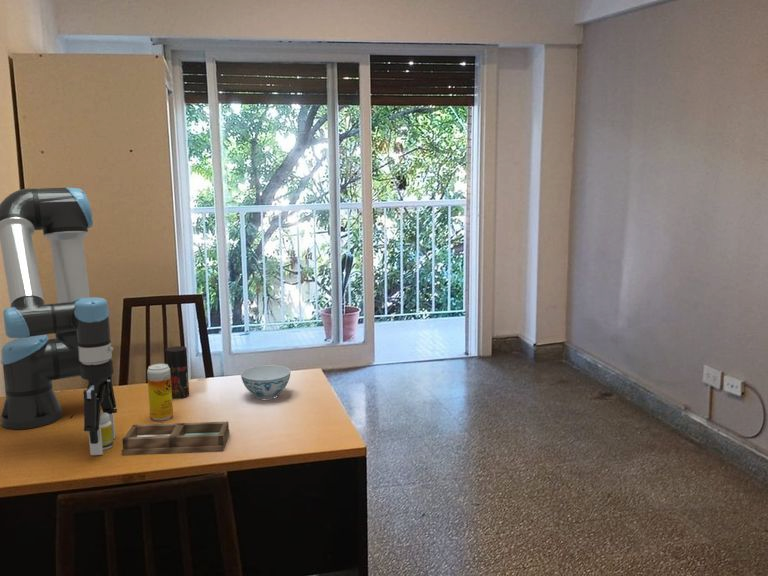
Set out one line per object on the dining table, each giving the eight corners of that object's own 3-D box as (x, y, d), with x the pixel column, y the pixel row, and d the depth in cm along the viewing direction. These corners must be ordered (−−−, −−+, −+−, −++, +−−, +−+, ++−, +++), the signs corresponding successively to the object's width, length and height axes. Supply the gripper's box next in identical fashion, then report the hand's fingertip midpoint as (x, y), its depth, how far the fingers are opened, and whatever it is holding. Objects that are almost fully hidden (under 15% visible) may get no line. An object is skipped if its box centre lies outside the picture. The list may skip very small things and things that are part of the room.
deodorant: (169, 393, 208) (166, 347, 206) (189, 391, 210) (186, 345, 207) (169, 399, 203) (166, 352, 200) (189, 397, 205) (186, 350, 202)
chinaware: (258, 408, 195) (257, 383, 194) (232, 395, 206) (231, 371, 205) (300, 396, 205) (300, 372, 204) (274, 385, 216) (273, 362, 215)
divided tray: (122, 454, 164) (121, 440, 164) (135, 437, 175) (133, 423, 175) (223, 451, 166) (222, 437, 166) (229, 433, 177) (228, 420, 176)
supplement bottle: (117, 444, 171) (114, 412, 169) (105, 451, 166) (102, 419, 165) (101, 442, 172) (98, 411, 171) (88, 449, 168) (86, 417, 166)
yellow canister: (166, 422, 185) (162, 370, 182) (146, 420, 186) (142, 369, 184) (177, 414, 191) (173, 363, 188) (157, 412, 192) (154, 362, 190)
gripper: (96, 373, 155) (104, 464, 159) (124, 348, 176) (131, 428, 180) (63, 374, 154) (71, 465, 158) (95, 349, 176) (102, 429, 180)
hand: (103, 446), depth 169 cm, fingers open, 9 cm apart
